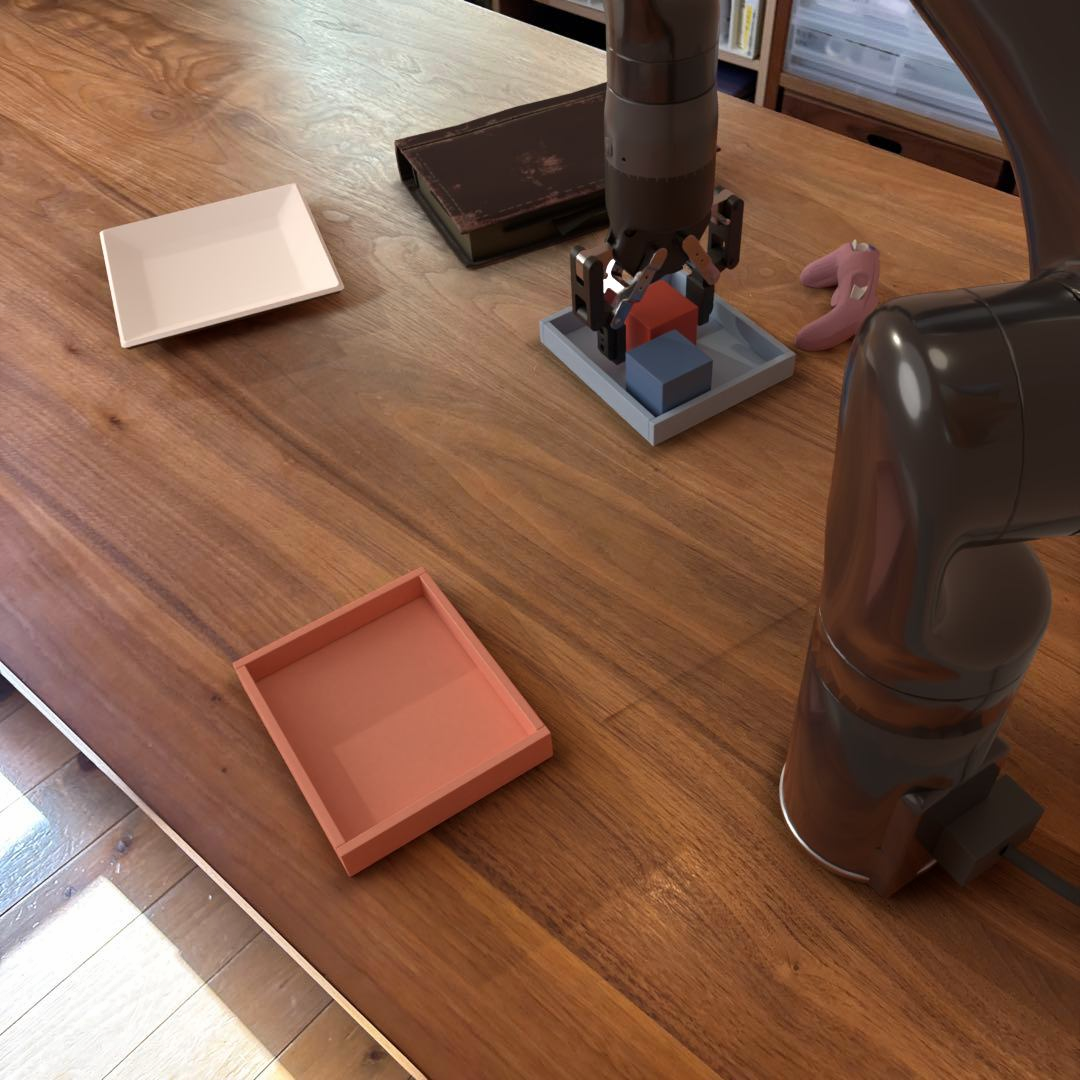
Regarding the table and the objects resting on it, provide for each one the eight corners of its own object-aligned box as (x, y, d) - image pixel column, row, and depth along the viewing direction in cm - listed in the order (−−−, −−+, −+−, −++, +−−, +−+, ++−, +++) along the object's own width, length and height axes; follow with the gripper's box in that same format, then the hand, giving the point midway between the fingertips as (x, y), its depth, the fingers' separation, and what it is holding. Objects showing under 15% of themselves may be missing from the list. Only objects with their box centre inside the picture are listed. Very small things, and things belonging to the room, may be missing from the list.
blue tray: (792, 379, 85) (796, 353, 83) (653, 450, 81) (653, 425, 79) (671, 285, 94) (672, 260, 92) (540, 345, 89) (538, 320, 88)
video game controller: (838, 374, 87) (894, 312, 82) (788, 350, 86) (841, 285, 81) (841, 299, 93) (893, 237, 88) (795, 275, 93) (844, 211, 87)
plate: (106, 248, 103) (98, 229, 101) (302, 199, 106) (297, 180, 105) (129, 366, 91) (120, 346, 89) (349, 306, 95) (344, 286, 93)
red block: (696, 354, 87) (698, 306, 83) (649, 376, 85) (650, 329, 82) (661, 325, 89) (662, 278, 86) (615, 347, 88) (615, 300, 85)
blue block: (710, 407, 83) (713, 359, 79) (661, 431, 81) (662, 384, 78) (673, 375, 85) (674, 328, 82) (625, 399, 84) (625, 352, 80)
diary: (399, 182, 107) (390, 133, 104) (628, 115, 113) (628, 67, 109) (470, 281, 96) (464, 231, 92) (722, 201, 102) (726, 151, 98)
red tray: (553, 755, 64) (551, 732, 62) (350, 877, 60) (341, 856, 58) (427, 589, 73) (422, 565, 71) (242, 686, 69) (231, 662, 67)
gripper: (604, 204, 70) (608, 401, 82) (779, 131, 74) (759, 328, 87) (540, 156, 74) (553, 349, 87) (709, 89, 79) (699, 282, 91)
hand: (656, 338), depth 87 cm, fingers open, 7 cm apart
